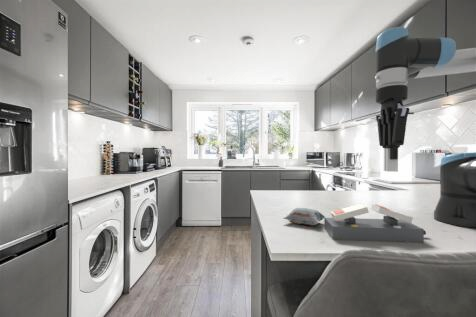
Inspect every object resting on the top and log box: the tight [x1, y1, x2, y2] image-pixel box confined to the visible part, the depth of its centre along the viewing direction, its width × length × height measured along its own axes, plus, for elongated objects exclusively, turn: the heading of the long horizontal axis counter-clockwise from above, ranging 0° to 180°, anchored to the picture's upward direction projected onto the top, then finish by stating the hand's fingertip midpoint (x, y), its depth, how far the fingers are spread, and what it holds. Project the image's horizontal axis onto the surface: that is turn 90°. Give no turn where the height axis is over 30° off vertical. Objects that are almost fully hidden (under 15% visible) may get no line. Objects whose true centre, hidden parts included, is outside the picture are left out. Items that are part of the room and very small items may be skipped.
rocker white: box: [370, 203, 414, 224], centre depth 67 cm, size 9×4×2 cm, turn 84°
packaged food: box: [282, 207, 326, 226], centre depth 79 cm, size 9×12×5 cm
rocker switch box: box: [323, 215, 427, 243], centre depth 67 cm, size 26×9×5 cm, turn 83°
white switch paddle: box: [330, 203, 369, 221], centre depth 68 cm, size 9×4×2 cm, turn 83°
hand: (390, 171), depth 67 cm, fingers closed
